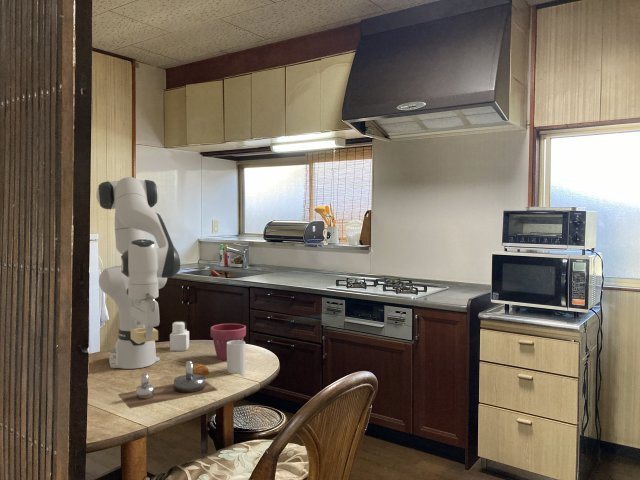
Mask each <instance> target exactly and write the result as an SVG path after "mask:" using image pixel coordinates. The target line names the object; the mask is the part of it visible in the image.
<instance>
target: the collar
mask: <svg viewBox="0 0 640 480" xmlns="http://www.w3.org/2000/svg"><path fill="white" fill-rule="evenodd" d="M145 329H146V328H137V329H131V339H132V340H133V341H134V342H136V343H141V342H149V341H155V342H156V341H159V330H158V329H156V328H154V327H153V331H152V338H151V339H146V338H145Z"/></svg>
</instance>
